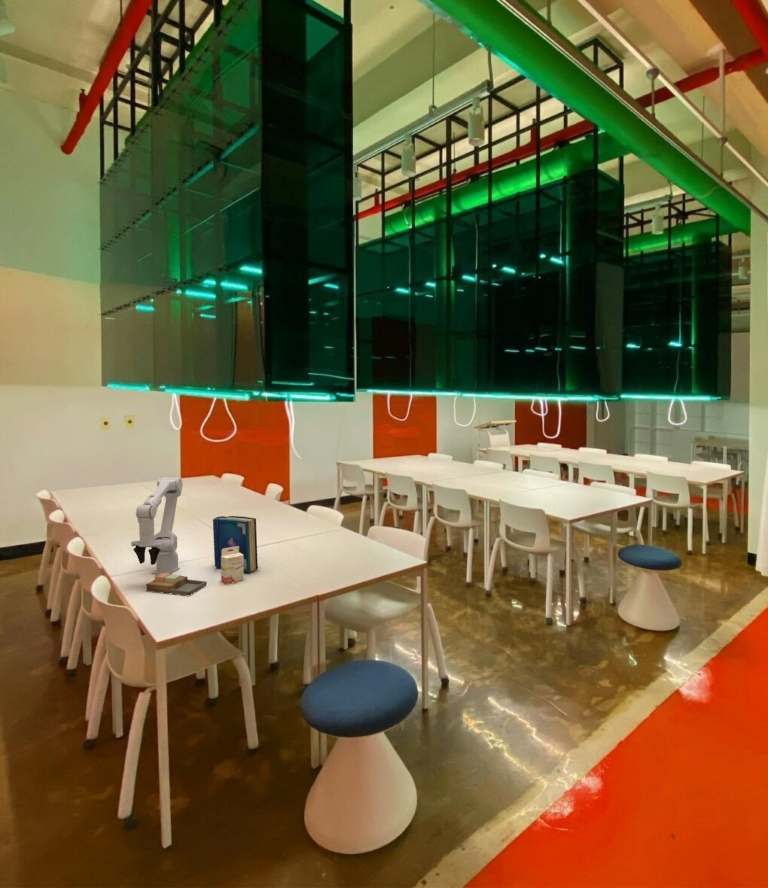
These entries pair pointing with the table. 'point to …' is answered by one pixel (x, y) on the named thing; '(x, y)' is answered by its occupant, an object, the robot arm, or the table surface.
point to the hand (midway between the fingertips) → (147, 563)
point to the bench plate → (165, 585)
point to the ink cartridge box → (232, 565)
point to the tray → (189, 587)
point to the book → (236, 539)
